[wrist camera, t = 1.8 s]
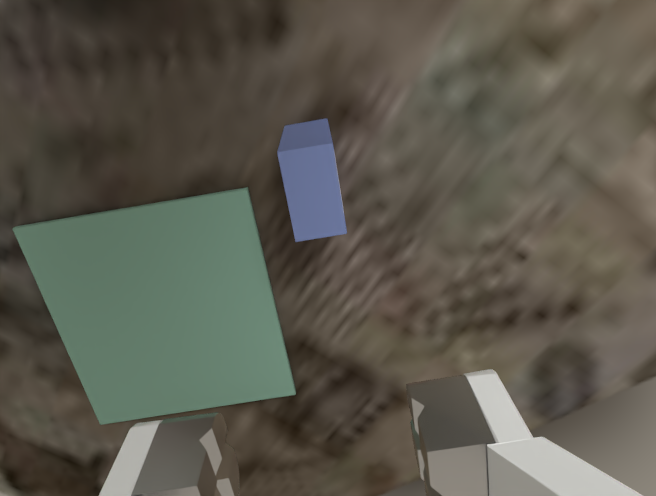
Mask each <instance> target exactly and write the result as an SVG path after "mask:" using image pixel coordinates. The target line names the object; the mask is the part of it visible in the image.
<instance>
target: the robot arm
mask: <svg viewBox="0 0 656 496" xmlns="http://www.w3.org/2000/svg"><path fill="white" fill-rule="evenodd" d="M406 387H407V398H408V404H409V408H410V412H411V416H412V420H411V422H410V423H411V430H412V437H413V443H414V449H415V455H416V459H417V464H418V468H419V472H420V476H421V479H423V480H424V482H425V490H426V496H643V495H641V494H639V493H638V492H636V491H634V490H633V489H631V488H629V487H627V486H626V485H624V484H622V483H621V482H619V481H617V480H615V479H614V478H612V477H611V476H609V475H607V474H605V473H604V472H602V471H600V470H599V469H597V468H595V467H593V466H592V465H590V464H588V463H587V462H585V461H583V460H581V459H580V458H578V457H576V456H575V455H573V454H571V453H570V452H568V451H566V450H565V449H563V448H561V447H559V446H558V445H556V444H554V443H553V442H551V441H549V440H548V439H546V438H544V437H538V438H533V437H532V435H531V433H530V431H529V429H528V428H527V426H526V424H525V422H524V421H523V419H522V417H521V415H520V413H519V412H518V410H517V408H516V406H515V405H514V403H513V401H512V399H511V398H510V396H509V394H508V392H507V391H506V389H505V387H504V385H503V383H502V382H501V380H500V378H499V376H498V375H497V373H496V372H495V371H494V370H492V369H489V370H483V371H478V372H472V373H466V374H463V375H459V376H452V377H446V378H440V379H433V380H427V381H421V382H414V383H408V384H406ZM227 431H228V428H227V425H226V423H225V420H224V417H223V415H222V414H220V413H219V412H216V413H208V414H201V415H193V416H185V417H177V418H169V419H164V420H157V421H150V422H142V423H136V424H135V425H134V426H133V427H131V428H130V430H129V432H128V434H127V436H126V438H125V440H124V442H123V445H122V447H121V449H120V451H119V453H118V455H117V457H116V459H115V462H114V464H113V466H112V468H111V470H110V472H109V474H108V477H107V479H106V481H105V483H104V485H103V487H102V489H101V492H100V494H99V496H239V468H238V461H237V457H236V454H235V450H234V448H233V447H231V446H230V445H228V444H227V443H226V442H225V441H226V436H227Z"/></svg>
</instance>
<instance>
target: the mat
mask: <svg viewBox="0 0 656 496" xmlns="http://www.w3.org/2000/svg"><path fill="white" fill-rule="evenodd" d="M13 231H14V233H15V236H16V238H17V240H18V242H19V245H20V247H21V249H22V251H23V254H24V256H25V258H26V260H27V262H28V265H29V267H30V269H31V271H32V274H33V276H34V278H35V280H36V283H37V285H38V287H39V289H40V291H41V294H42V296H43V298H44V300H45V303H46V305H47V307H48V309H49V312H50V314H51V316H52V318H53V320H54V323H55V325H56V327H57V329H58V332H59V334H60V336H61V338H62V341H63V343H64V345H65V347H66V349H67V352H68V354H69V356H70V358H71V361H72V363H73V365H74V367H75V370H76V372H77V374H78V376H79V378H80V381H81V383H82V385H83V387H84V390H85V392H86V394H87V396H88V399H89V401H90V403H91V405H92V407H93V410H94V412H95V414H96V416H97V419H98V421H99V423H100V425H102V424H109V423H115V422H122V421H128V420H134V419H141V418H147V417H154V416H160V415H167V414H173V413H180V412H186V411H193V410H199V409H206V408H212V407H219V406H225V405H232V404H238V403H245V402H251V401H257V400H264V399H270V398H277V397H283V396H290V395H296V389H295V385H294V381H293V376H292V372H291V368H290V364H289V359H288V355H287V351H286V347H285V342H284V338H283V334H282V330H281V325H280V321H279V317H278V313H277V309H276V304H275V300H274V296H273V292H272V287H271V283H270V279H269V275H268V270H267V266H266V262H265V258H264V253H263V249H262V245H261V241H260V236H259V232H258V228H257V224H256V219H255V215H254V211H253V207H252V203H251V198H250V194H249V190H248V187H246V188H241V189H235V190H229V191H223V192H217V193H211V194H205V195H199V196H193V197H187V198H181V199H175V200H169V201H163V202H158V203H152V204H146V205H140V206H134V207H128V208H122V209H116V210H110V211H104V212H98V213H92V214H86V215H80V216H75V217H69V218H63V219H57V220H51V221H45V222H39V223H33V224H27V225H21V226H16V227H14V228H13Z"/></svg>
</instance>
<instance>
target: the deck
mask: <svg viewBox="0 0 656 496" xmlns="http://www.w3.org/2000/svg"><path fill="white" fill-rule="evenodd" d="M277 154H278V159H279V164H280V169H281V174H282V178H283V183H284V188H285V193H286V198H287V203H288V208H289V213H290V217H291V222H292V227H293V232H294V237H295V242H299V241H305V240H311V239H317V238H323V237H329V236H335V235H341V234H347V230H346V224H345V218H344V210H343V204H342V198H341V191H340V185H339V179H338V172H337V166H336V160H335V154H334V148H333V142H332V138H331V133H330V129H329V124H328V120H327V118H326V119H321V120H315V121H309V122H303V123H297V124H292V125H286V126H285V127H284V130H283V134H282V137H281V141H280V144H279V148H278V151H277Z"/></svg>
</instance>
